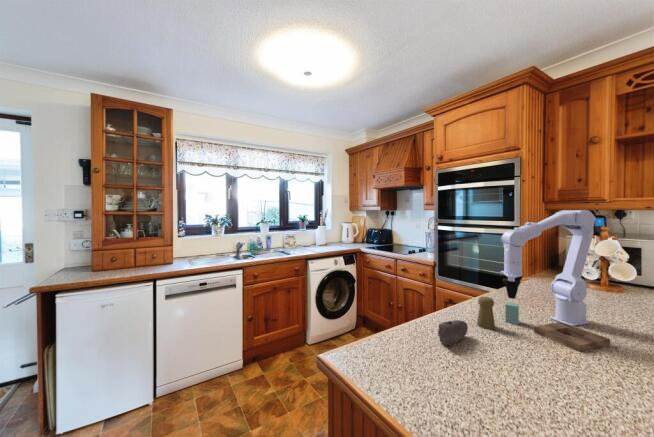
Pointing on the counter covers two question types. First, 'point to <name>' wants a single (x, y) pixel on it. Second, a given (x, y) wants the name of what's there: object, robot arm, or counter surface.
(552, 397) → the counter surface
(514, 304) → the teal peg
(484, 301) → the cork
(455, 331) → the perforated stone tool
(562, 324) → the walnut socket block
